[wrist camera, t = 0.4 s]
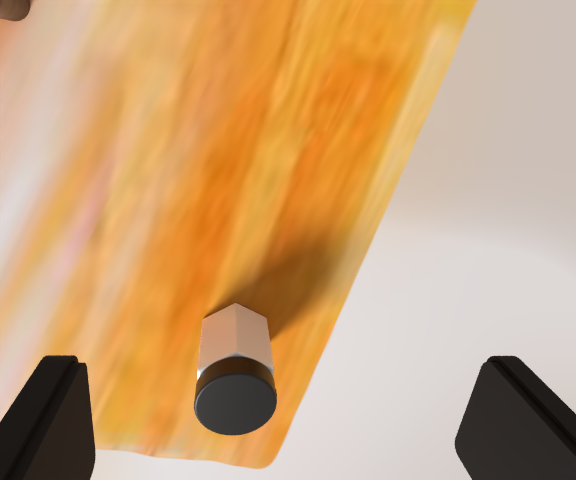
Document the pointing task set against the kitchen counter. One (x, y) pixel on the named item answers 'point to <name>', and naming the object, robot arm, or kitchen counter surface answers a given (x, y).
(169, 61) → the kitchen counter surface
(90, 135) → the kitchen counter surface
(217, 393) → the jar
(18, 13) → the peg
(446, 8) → the kitchen counter surface
